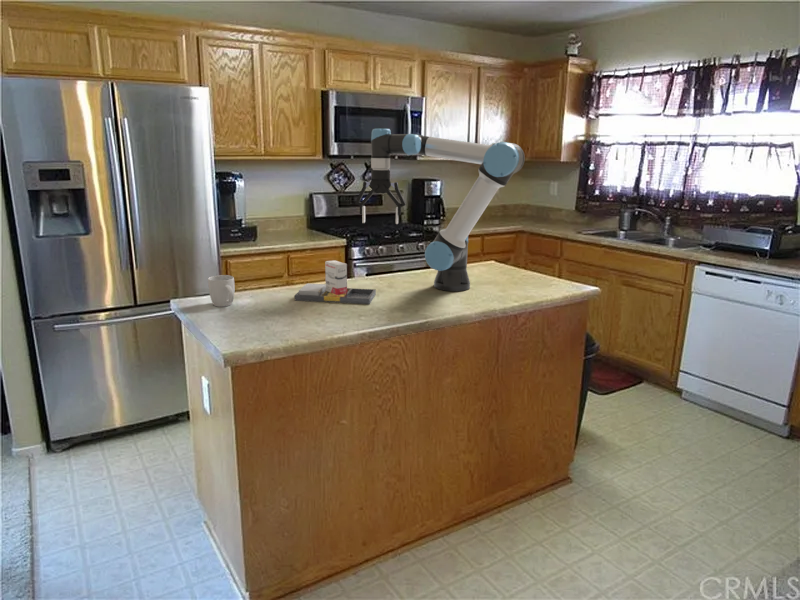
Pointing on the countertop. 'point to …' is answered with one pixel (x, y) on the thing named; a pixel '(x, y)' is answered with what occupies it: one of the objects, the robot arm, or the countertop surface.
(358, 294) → the rack
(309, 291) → the panel
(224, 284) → the mug
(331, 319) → the countertop surface
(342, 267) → the ink box
